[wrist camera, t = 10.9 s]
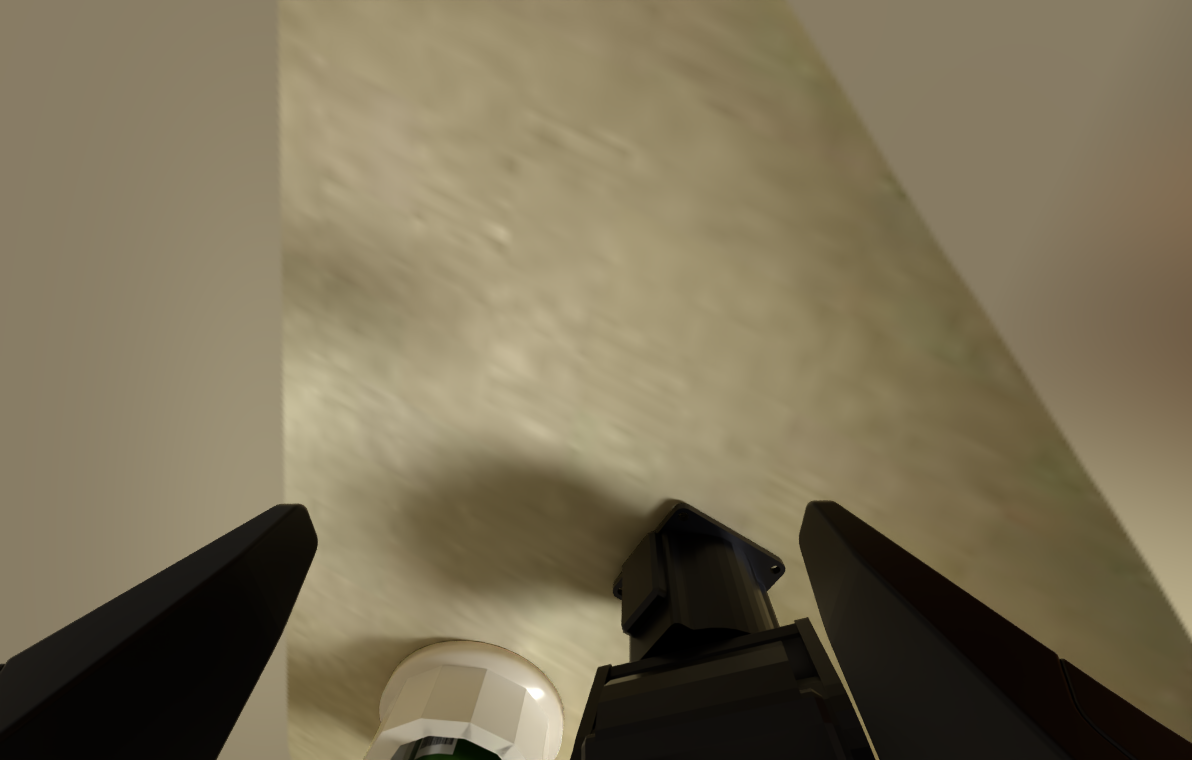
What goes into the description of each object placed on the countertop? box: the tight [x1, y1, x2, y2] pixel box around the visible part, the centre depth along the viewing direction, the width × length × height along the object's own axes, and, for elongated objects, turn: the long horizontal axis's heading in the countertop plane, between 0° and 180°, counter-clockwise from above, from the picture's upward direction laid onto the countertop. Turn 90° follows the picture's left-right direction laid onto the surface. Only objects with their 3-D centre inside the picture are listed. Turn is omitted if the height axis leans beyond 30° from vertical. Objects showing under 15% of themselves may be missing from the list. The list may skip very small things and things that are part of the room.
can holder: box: [363, 641, 564, 760], centre depth 27 cm, size 11×11×4 cm
